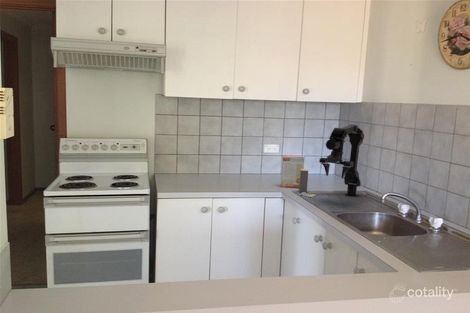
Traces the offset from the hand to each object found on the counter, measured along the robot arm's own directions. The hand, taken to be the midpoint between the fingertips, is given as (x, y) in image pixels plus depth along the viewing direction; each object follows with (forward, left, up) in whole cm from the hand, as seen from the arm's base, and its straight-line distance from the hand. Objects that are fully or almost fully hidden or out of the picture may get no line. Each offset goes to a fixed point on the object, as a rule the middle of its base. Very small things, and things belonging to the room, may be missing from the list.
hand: (334, 177), depth 241 cm
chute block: (-13, -23, -15) cm, 31 cm away
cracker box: (-23, -35, -15) cm, 45 cm away
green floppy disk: (-5, -17, -15) cm, 23 cm away
